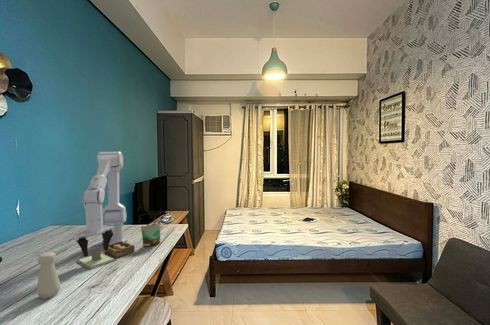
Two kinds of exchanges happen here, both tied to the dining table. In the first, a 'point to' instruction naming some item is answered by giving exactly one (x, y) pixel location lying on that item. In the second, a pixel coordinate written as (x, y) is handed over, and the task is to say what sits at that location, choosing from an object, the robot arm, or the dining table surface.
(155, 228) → the food container
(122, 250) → the box
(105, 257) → the lid
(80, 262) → the mat
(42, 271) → the salt shaker
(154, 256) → the dining table surface
